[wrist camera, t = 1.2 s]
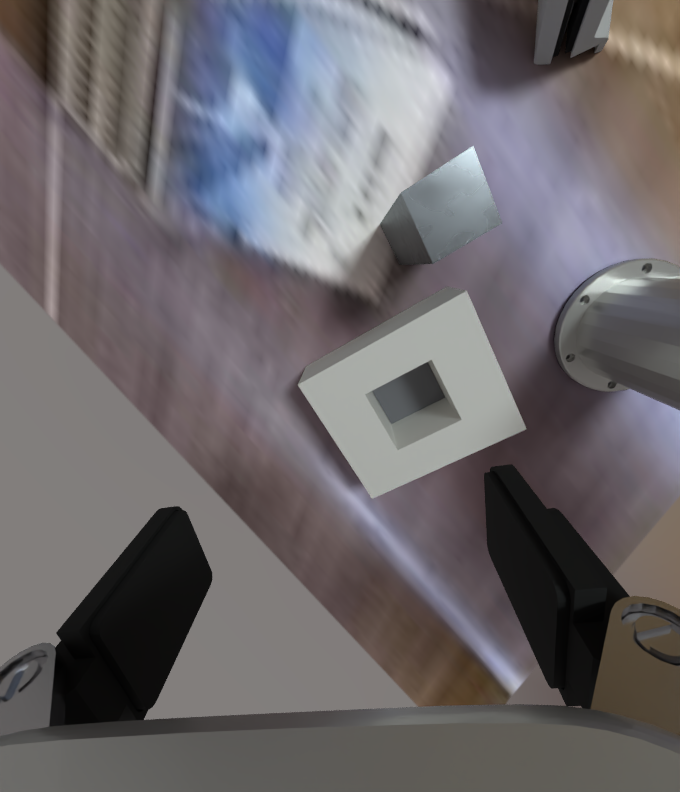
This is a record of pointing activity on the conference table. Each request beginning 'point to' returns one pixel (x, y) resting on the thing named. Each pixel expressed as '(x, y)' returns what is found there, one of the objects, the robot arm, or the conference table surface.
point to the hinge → (571, 27)
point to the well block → (413, 393)
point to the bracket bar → (441, 212)
